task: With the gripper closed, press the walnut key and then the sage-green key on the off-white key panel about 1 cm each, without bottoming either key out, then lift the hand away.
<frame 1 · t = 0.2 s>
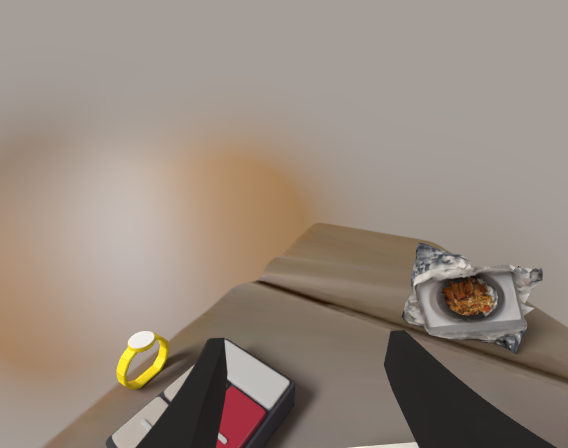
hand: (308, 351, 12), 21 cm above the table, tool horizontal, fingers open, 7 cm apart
watch: (147, 377, 35), on the table
meal: (452, 333, 44), on the table
calculator: (211, 431, 29), on the table
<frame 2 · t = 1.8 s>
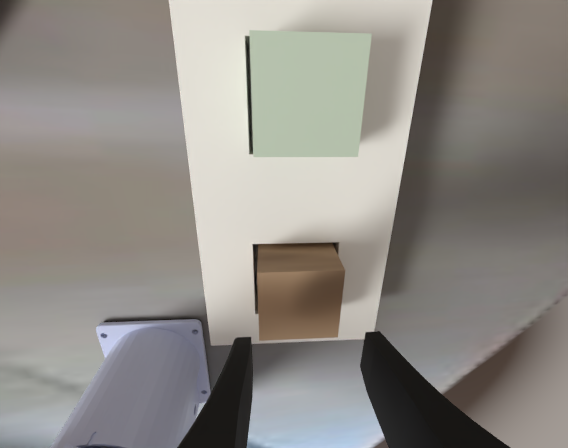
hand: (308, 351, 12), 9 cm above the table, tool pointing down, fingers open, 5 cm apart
sage key: (302, 99, 13), point 5 cm above the table, slide at 0.0 cm
key panel: (291, 182, 19), on the table
walnut key: (296, 287, 16), point 5 cm above the table, slide at 0.0 cm
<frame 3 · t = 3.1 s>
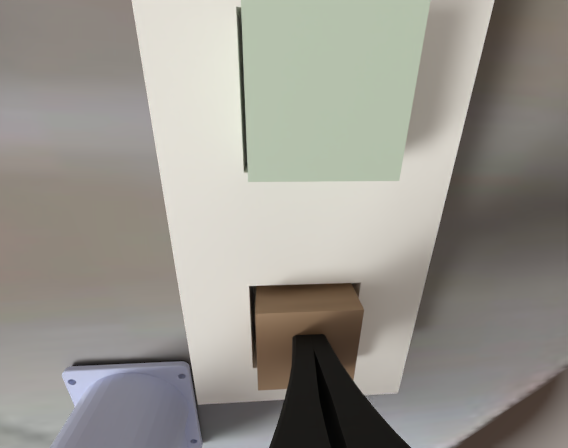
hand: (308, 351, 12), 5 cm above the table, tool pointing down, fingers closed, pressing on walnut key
sage key: (318, 98, 9), point 5 cm above the table, slide at 0.0 cm
key panel: (297, 201, 15), on the table
walnut key: (302, 323, 14), point 4 cm above the table, slide at 1.1 cm, touching gripper
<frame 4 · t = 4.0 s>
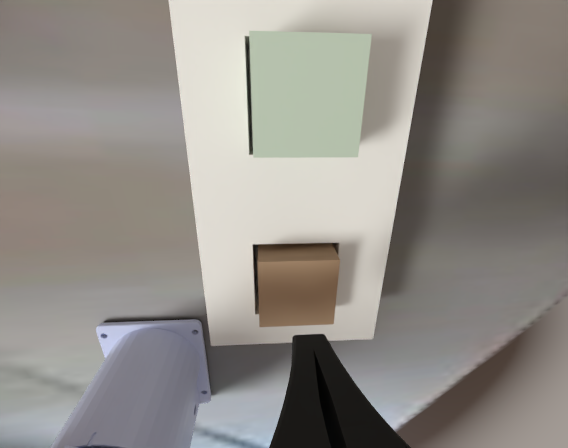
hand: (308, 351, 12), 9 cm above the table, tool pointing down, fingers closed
sage key: (302, 100, 13), point 5 cm above the table, slide at 0.0 cm
key panel: (291, 182, 19), on the table
walnut key: (294, 277, 17), point 4 cm above the table, slide at 1.1 cm
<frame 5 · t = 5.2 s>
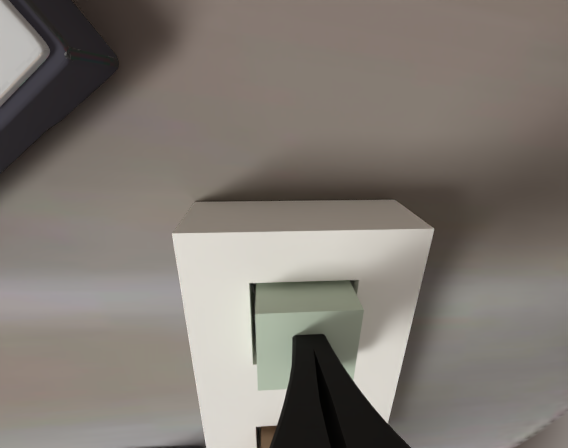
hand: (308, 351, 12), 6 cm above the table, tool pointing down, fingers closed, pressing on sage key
sage key: (302, 323, 14), point 4 cm above the table, slide at 0.8 cm, touching gripper
key panel: (292, 339, 19), on the table
walnut key: (296, 444, 18), point 4 cm above the table, slide at 1.1 cm
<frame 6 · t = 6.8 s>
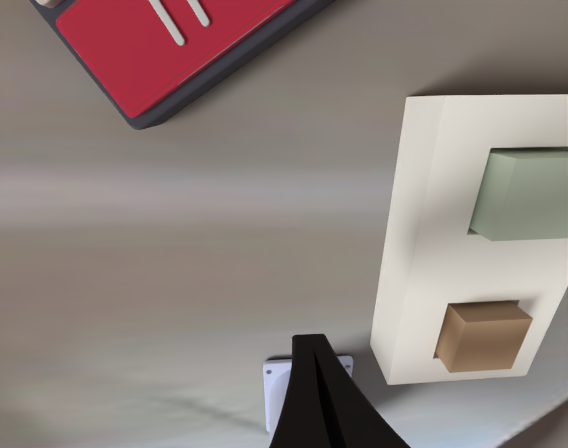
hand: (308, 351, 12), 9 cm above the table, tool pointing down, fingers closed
sage key: (516, 191, 16), point 4 cm above the table, slide at 1.1 cm
key panel: (455, 240, 21), on the table
walnut key: (471, 327, 20), point 4 cm above the table, slide at 1.1 cm
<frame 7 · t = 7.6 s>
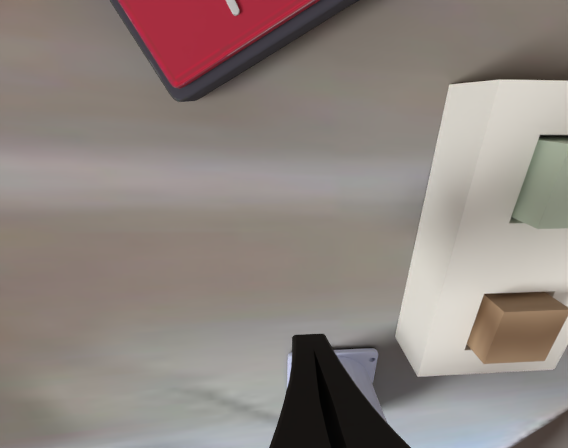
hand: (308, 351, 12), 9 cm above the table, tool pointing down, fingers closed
sage key: (560, 180, 16), point 4 cm above the table, slide at 1.1 cm
key panel: (487, 232, 21), on the table
walnut key: (504, 319, 20), point 4 cm above the table, slide at 1.1 cm
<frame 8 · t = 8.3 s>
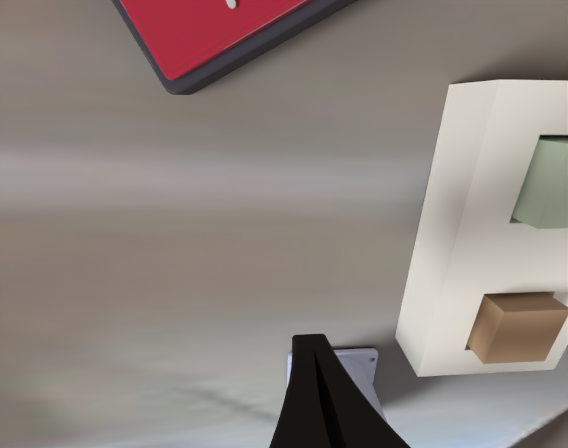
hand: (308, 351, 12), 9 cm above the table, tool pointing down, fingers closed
sage key: (560, 180, 16), point 4 cm above the table, slide at 1.1 cm
key panel: (487, 232, 21), on the table
walnut key: (504, 319, 20), point 4 cm above the table, slide at 1.1 cm
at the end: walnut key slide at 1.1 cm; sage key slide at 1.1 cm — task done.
